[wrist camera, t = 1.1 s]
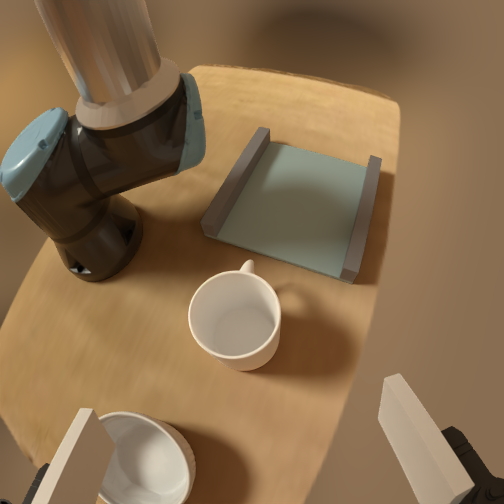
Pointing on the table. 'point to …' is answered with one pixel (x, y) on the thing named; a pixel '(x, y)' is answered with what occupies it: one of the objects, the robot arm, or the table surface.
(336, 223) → the tray with side rails
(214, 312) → the mug
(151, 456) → the ramekin
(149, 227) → the table surface
